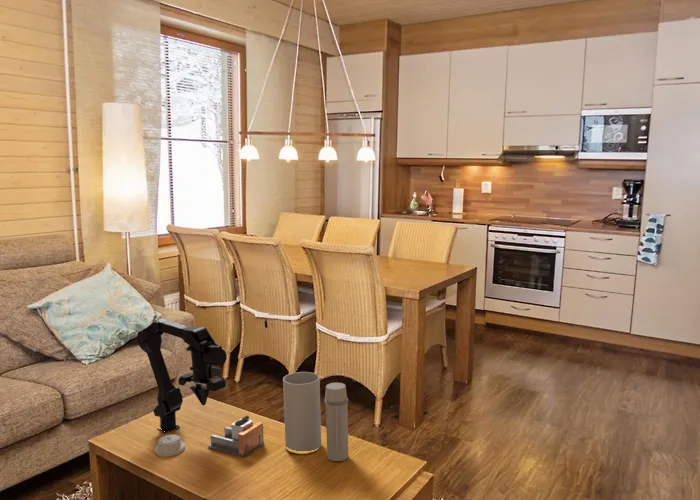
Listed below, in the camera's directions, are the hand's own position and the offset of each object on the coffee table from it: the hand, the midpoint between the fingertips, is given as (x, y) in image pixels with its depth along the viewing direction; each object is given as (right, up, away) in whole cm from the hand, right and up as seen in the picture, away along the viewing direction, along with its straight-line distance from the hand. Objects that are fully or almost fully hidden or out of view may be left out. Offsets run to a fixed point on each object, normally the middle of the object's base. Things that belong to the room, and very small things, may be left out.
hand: (203, 404), depth 203 cm
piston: (+16, -12, -7) cm, 21 cm away
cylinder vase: (+37, -13, -7) cm, 39 cm away
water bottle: (+49, -14, -16) cm, 53 cm away
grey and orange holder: (+13, -13, -5) cm, 19 cm away
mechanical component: (-10, -14, -7) cm, 19 cm away
